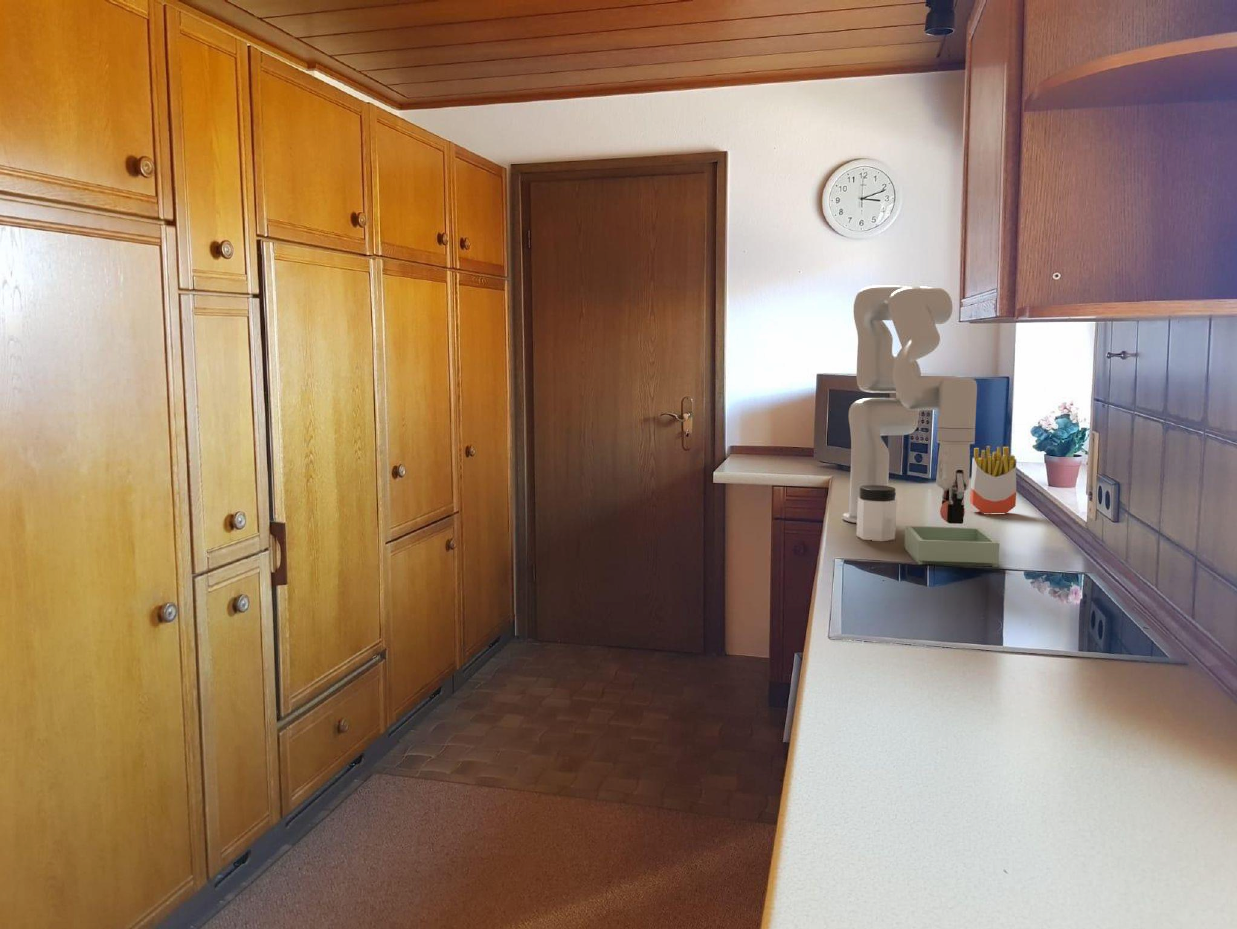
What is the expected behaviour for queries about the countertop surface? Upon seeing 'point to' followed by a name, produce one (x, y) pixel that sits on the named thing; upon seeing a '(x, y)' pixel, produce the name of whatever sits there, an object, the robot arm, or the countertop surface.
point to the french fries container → (993, 481)
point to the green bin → (951, 546)
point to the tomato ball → (945, 510)
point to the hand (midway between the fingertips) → (952, 520)
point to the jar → (876, 513)
